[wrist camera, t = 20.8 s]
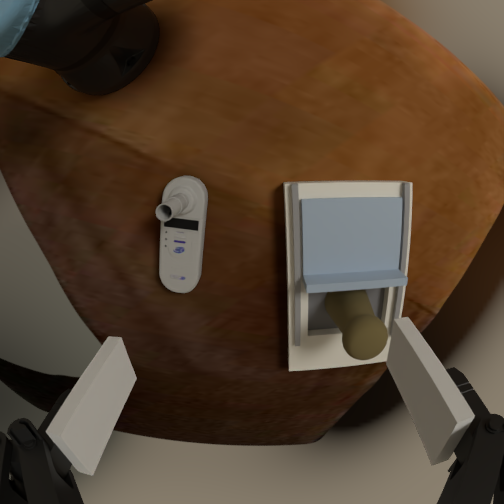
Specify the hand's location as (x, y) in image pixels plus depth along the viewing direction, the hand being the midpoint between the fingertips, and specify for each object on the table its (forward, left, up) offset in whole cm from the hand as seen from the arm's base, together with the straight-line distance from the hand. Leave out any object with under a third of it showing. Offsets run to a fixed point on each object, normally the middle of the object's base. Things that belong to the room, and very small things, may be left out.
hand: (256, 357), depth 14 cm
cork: (+10, +11, -25) cm, 29 cm away
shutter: (+1, +11, -23) cm, 26 cm away
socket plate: (+7, +11, -26) cm, 29 cm away
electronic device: (0, -10, -26) cm, 28 cm away
